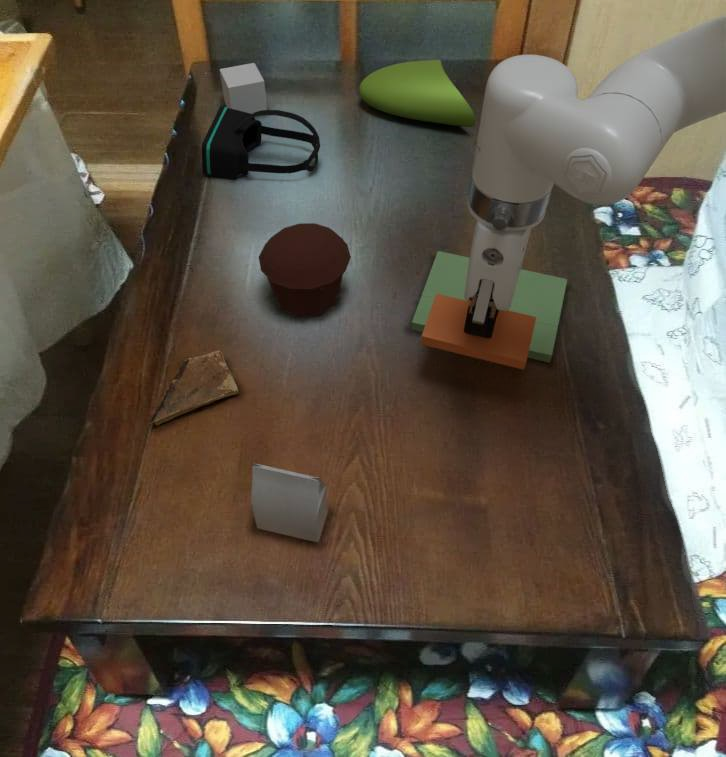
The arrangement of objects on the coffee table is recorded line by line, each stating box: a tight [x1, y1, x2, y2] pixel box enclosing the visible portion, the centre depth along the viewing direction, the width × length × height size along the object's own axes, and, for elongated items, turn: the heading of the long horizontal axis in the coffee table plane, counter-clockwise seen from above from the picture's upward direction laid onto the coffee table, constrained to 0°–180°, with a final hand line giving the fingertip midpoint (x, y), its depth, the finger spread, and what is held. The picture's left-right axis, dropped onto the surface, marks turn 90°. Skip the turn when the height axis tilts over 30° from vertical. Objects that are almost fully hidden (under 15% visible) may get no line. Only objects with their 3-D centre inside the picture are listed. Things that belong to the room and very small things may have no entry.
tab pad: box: [420, 294, 536, 370], centre depth 83 cm, size 12×11×8 cm
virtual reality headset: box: [201, 105, 321, 179], centre depth 113 cm, size 11×17×10 cm, turn 81°
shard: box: [149, 350, 240, 426], centre depth 88 cm, size 11×8×2 cm
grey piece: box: [250, 463, 329, 543], centre depth 74 cm, size 4×7×10 cm, turn 76°
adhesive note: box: [219, 62, 268, 114], centre depth 123 cm, size 6×6×6 cm
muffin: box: [258, 222, 352, 319], centre depth 95 cm, size 12×11×10 cm
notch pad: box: [410, 250, 568, 364], centre depth 97 cm, size 18×14×2 cm
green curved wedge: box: [358, 59, 476, 128], centre depth 122 cm, size 8×12×20 cm
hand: (481, 322), depth 83 cm, fingers closed on tab pad, 2 cm apart
